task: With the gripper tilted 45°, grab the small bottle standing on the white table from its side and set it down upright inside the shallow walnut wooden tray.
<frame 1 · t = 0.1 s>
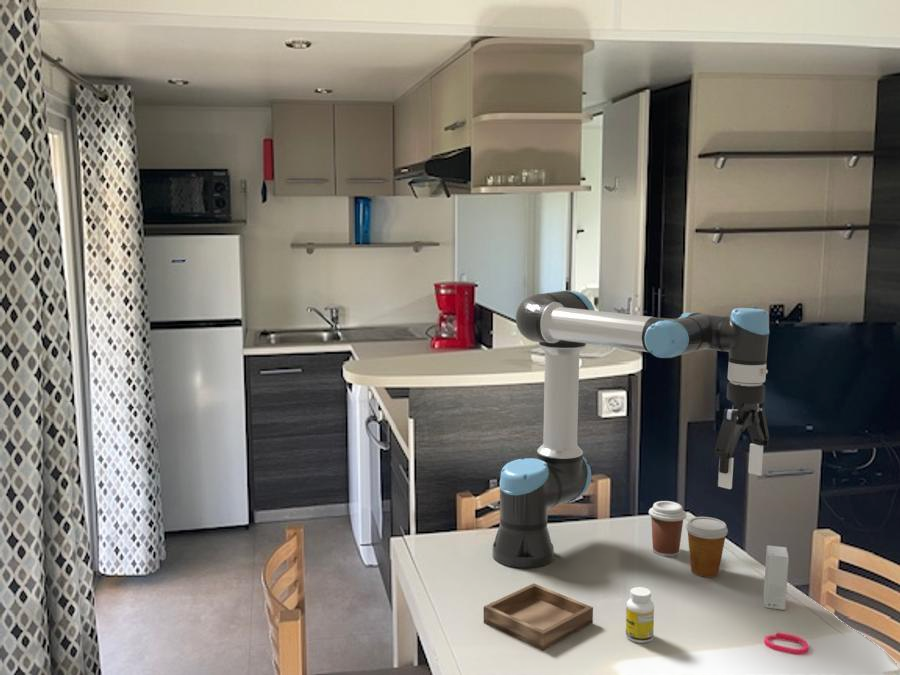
hand: (740, 480, 183), 28 cm above the table, tool pointing down, fingers open, 13 cm apart
walnut tray: (538, 622, 178), on the table
skincare box: (774, 604, 187), on the table
supplement bottle: (639, 638, 172), on the table
disposable coffee cup: (704, 572, 204), on the table
fitness band: (785, 648, 169), on the table
coffee cup: (665, 552, 216), on the table
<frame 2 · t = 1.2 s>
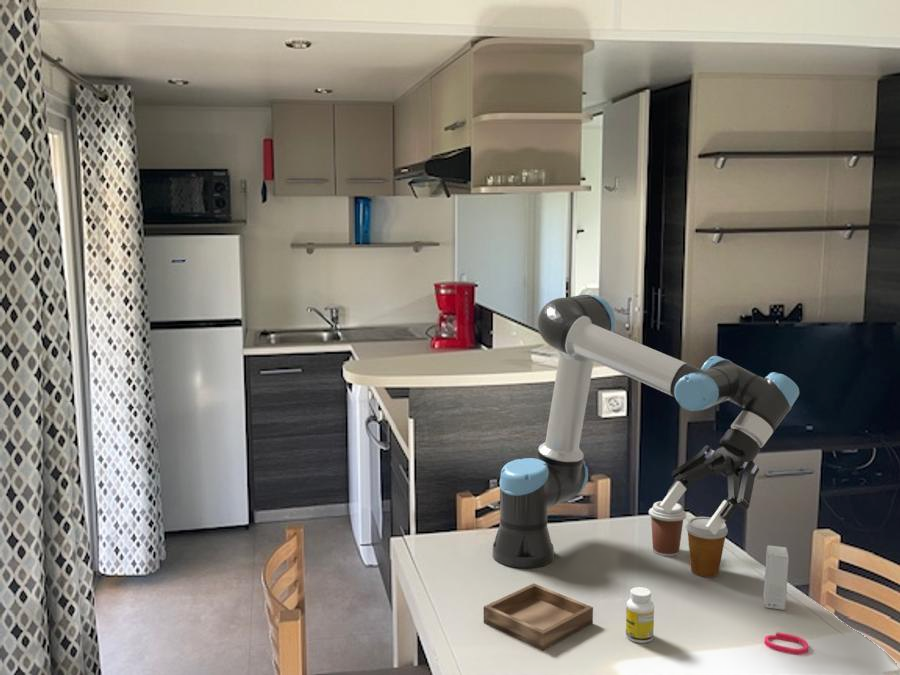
hand: (686, 519, 174), 23 cm above the table, tool tilted 45°, fingers open, 13 cm apart
nothing on the table moved.
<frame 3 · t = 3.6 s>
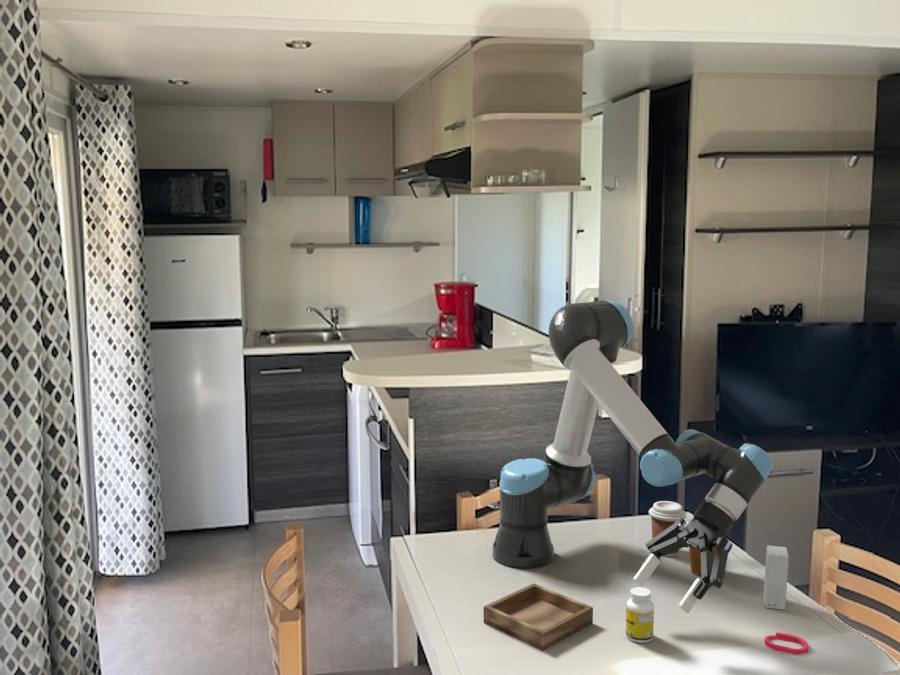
hand: (659, 595, 172), 9 cm above the table, tool tilted 45°, fingers open, 13 cm apart
nothing on the table moved.
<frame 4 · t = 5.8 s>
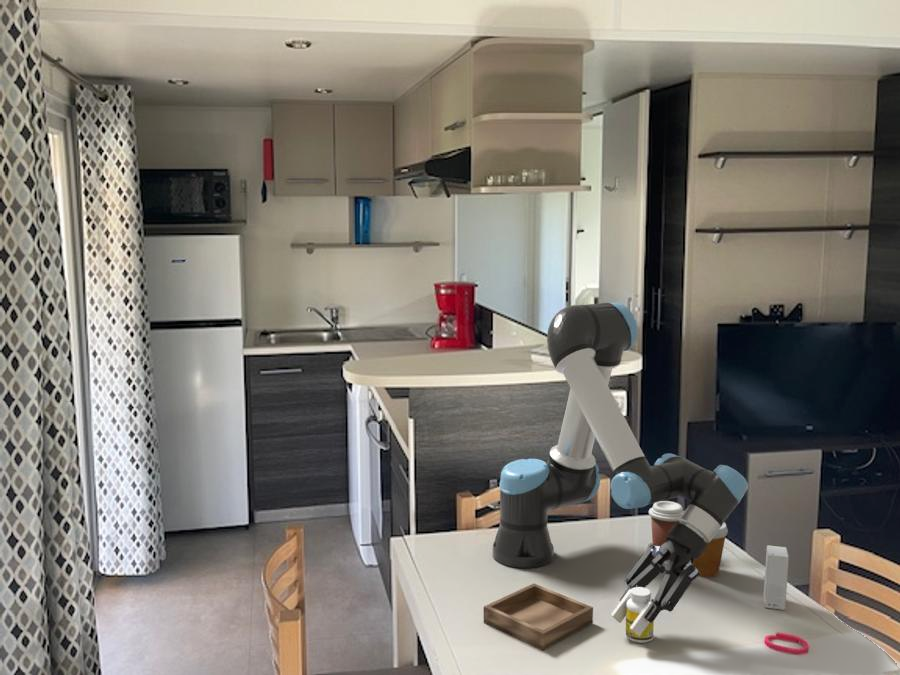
hand: (624, 625, 170), 3 cm above the table, tool tilted 45°, fingers closed on supplement bottle, 5 cm apart
supplement bottle: (639, 638, 172), on the table, touching gripper
everything else where it was.
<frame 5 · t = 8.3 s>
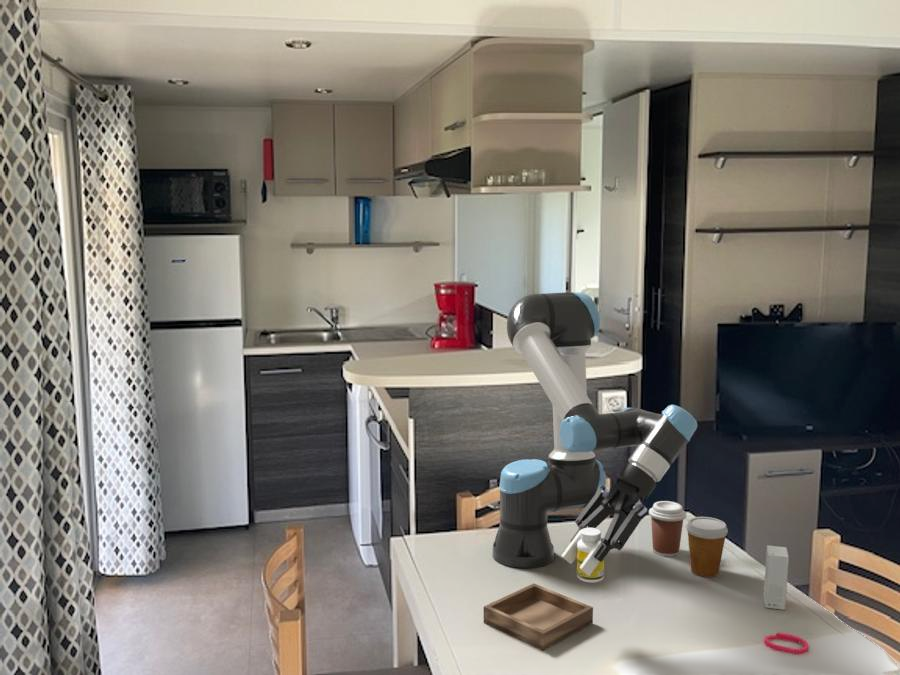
hand: (575, 565, 170), 15 cm above the table, tool tilted 45°, fingers closed on supplement bottle, 5 cm apart
supplement bottle: (590, 578, 173), point 12 cm above the table, touching gripper
everything else where it was.
when the fingers open (5 cm above the table, at t = 11.1 s): supplement bottle stays where it is, resting on walnut tray.
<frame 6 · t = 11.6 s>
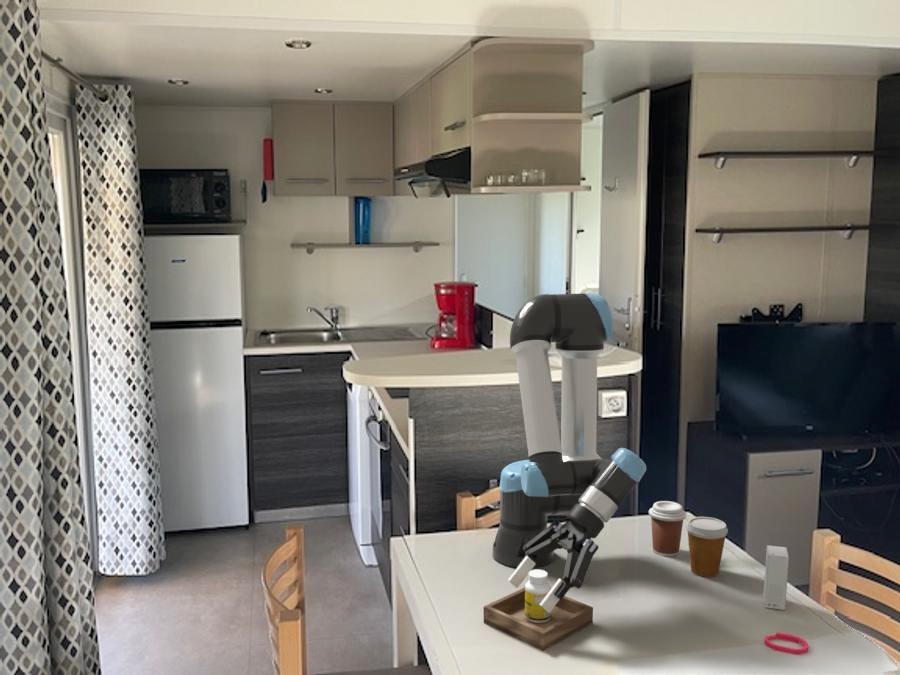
hand: (527, 596, 176), 6 cm above the table, tool tilted 45°, fingers open, 12 cm apart
supplement bottle: (537, 618, 178), point 1 cm above the table, touching walnut tray
everything else where it was.
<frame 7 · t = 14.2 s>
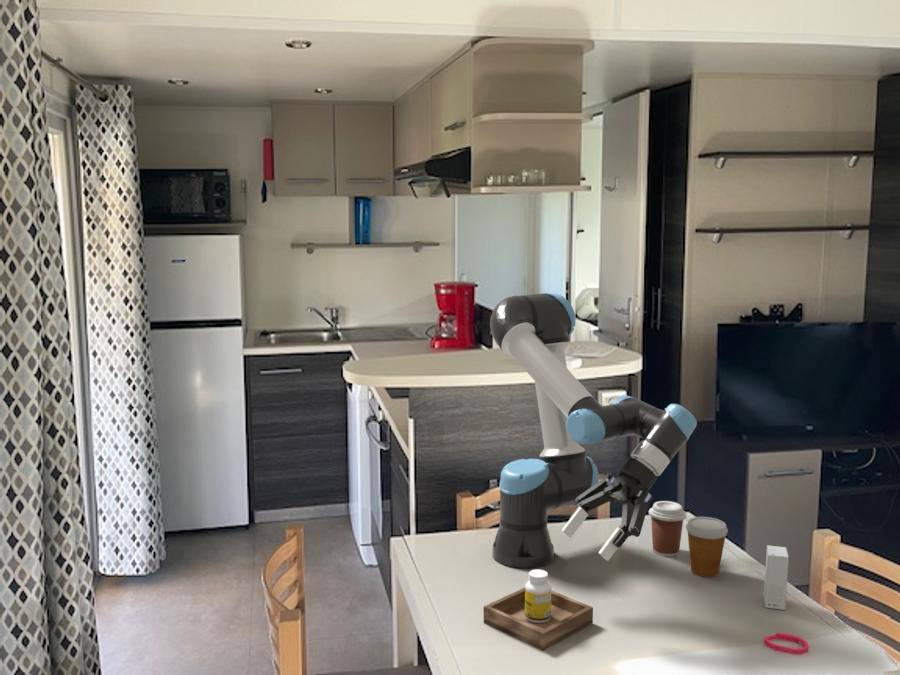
hand: (583, 545, 181), 15 cm above the table, tool tilted 45°, fingers open, 13 cm apart
nothing on the table moved.
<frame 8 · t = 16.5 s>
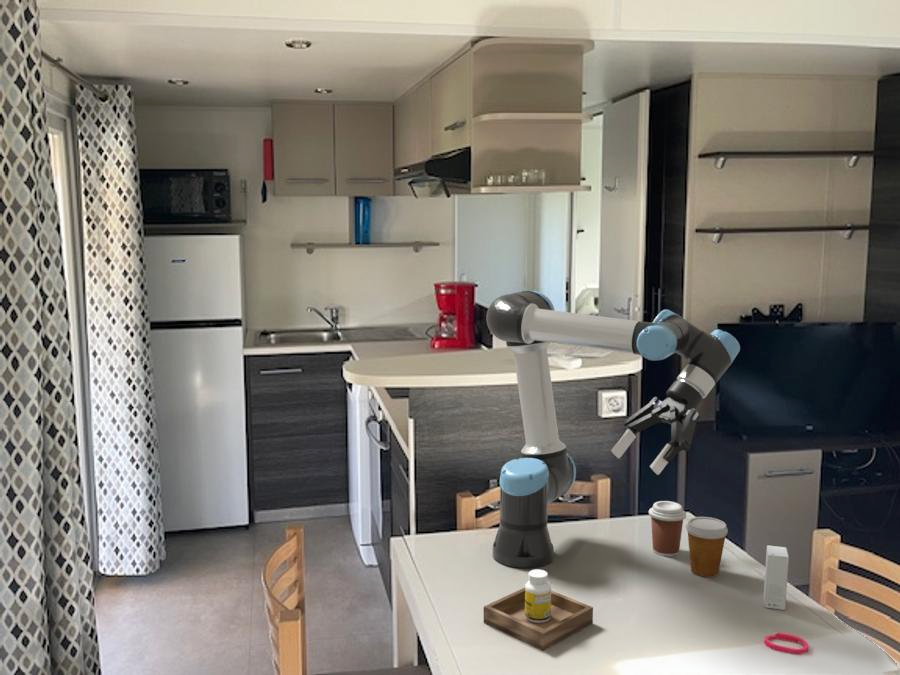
hand: (633, 462, 189), 30 cm above the table, tool tilted 45°, fingers open, 13 cm apart
nothing on the table moved.
at the end: supplement bottle inside the target area on the walnut tray (0.2 cm from its centre), point 0.8 cm above the walnut tray's base; supplement bottle tilted 0°; the gripper is holding nothing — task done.
